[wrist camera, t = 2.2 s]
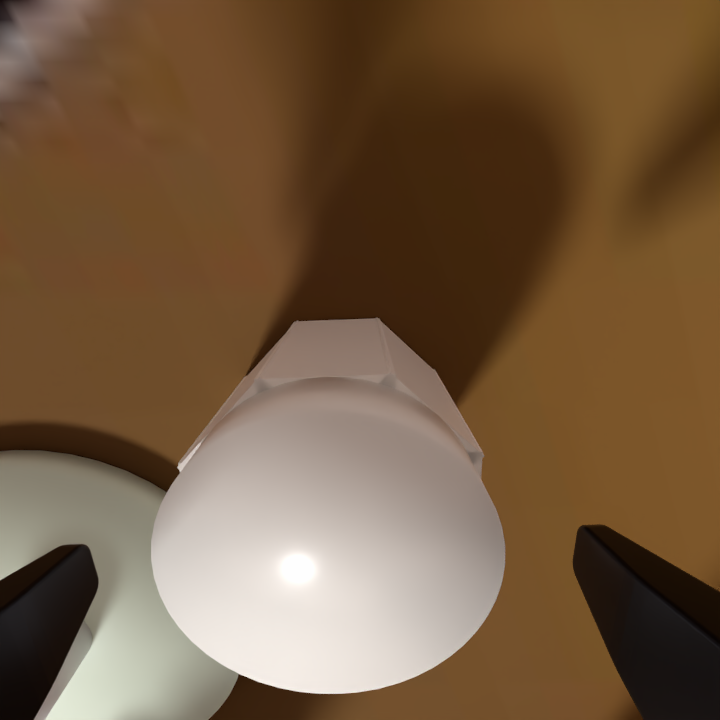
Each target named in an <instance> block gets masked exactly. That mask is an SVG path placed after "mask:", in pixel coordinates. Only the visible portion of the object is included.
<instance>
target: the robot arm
mask: <svg viewBox="0 0 720 720" xmlns="http://www.w3.org/2000/svg"><path fill="white" fill-rule="evenodd" d="M573 569H574V573H575V576H576V578H577V580H578V583H579V585H580V587H581V590H582V592H583V594H584V597H585V599H586V601H587V604H588V606H589V608H590V610H591V613H592V615H593V617H594V620H595V622H596V624H597V627H598V629H599V631H600V634H601V636H602V638H603V640H604V643H605V645H606V647H607V650H608V652H609V654H610V656H611V658H612V661H613V663H614V665H615V667H616V669H617V671H618V673H619V675H620V677H621V679H622V681H623V683H624V685H625V686H626V688H627V690H628V692H629V694H630V696H631V697H632V699H633V701H634V703H635V705H636V707H637V709H638V710H639V712H640V714H641V716H642V718H643V720H720V592H719V591H717V590H716V589H714V588H712V587H711V586H709V585H707V584H705V583H704V582H702V581H700V580H698V579H697V578H695V577H693V576H692V575H690V574H688V573H686V572H685V571H683V570H681V569H680V568H678V567H676V566H674V565H673V564H671V563H669V562H667V561H666V560H664V559H662V558H661V557H659V556H657V555H655V554H654V553H652V552H650V551H649V550H647V549H645V548H643V547H642V546H640V545H638V544H636V543H635V542H633V541H631V540H630V539H628V538H626V537H624V536H623V535H621V534H619V533H617V532H616V531H614V530H612V529H611V528H609V527H607V526H605V525H600V524H598V525H582V526H580V527H579V529H578V531H577V536H576V542H575V549H574V555H573ZM98 584H99V578H98V574H97V571H96V568H95V564H94V561H93V558H92V554H91V551H90V548H89V547H88V546H87V545H85V544H66V545H61V546H59V547H57V548H55V549H53V550H52V551H50V552H48V553H46V554H45V555H43V556H41V557H39V558H38V559H36V560H34V561H33V562H31V563H29V564H27V565H26V566H24V567H22V568H20V569H19V570H17V571H15V572H13V573H12V574H10V575H8V576H6V577H5V578H3V579H1V580H0V720H34V719H35V717H36V715H37V713H38V712H39V710H40V708H41V706H42V705H43V703H44V701H45V699H46V697H47V695H48V694H49V692H50V690H51V688H52V686H53V684H54V682H55V680H56V678H57V676H58V674H59V672H60V670H61V668H62V666H63V663H64V661H65V659H66V657H67V655H68V653H69V651H70V649H71V646H72V644H73V642H74V640H75V638H76V636H77V634H78V631H79V629H80V627H81V625H82V623H83V621H84V619H85V617H86V614H87V612H88V610H89V608H90V606H91V604H92V602H93V599H94V597H95V595H96V593H97V589H98Z"/></svg>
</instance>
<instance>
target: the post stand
mask: <svg viewBox="0 0 720 720" xmlns="http://www.w3.org/2000/svg"><path fill="white" fill-rule="evenodd" d="M166 493H167V492H165V491H164V490H162V489H161V488H159V487H157V486H156V485H154V484H152V483H151V482H149V481H147V480H144V479H142V478H140V477H138V476H136V475H134V474H132V473H130V472H128V471H126V470H123V469H120V468H117V467H114V466H111V465H109V464H106V463H103V462H100V461H97V460H93V459H89V458H84V457H80V456H76V455H72V454H65V453H58V452H50V451H42V450H9V451H0V580H1V579H3V578H5V577H6V576H8V575H10V574H12V573H13V572H15V571H17V570H19V569H20V568H22V567H24V566H26V565H27V564H29V563H31V562H33V561H34V560H36V559H38V558H39V557H41V556H43V555H45V554H46V553H48V552H50V551H52V550H53V549H55V548H57V547H59V546H61V545H66V544H85V545H87V546H88V547H89V548H90V551H91V554H92V558H93V561H94V564H95V568H96V571H97V574H98V578H99V584H98V589H97V593H96V595H95V597H94V599H93V602H92V604H91V606H90V608H89V610H88V612H87V614H86V617H85V619H84V621H83V623H82V625H81V627H80V629H79V631H78V634H77V636H76V638H75V640H74V642H73V644H72V646H71V649H70V651H69V653H68V655H67V657H66V659H65V661H64V663H63V666H62V668H61V670H60V672H59V674H58V676H57V678H56V680H55V682H54V684H53V686H52V688H51V690H50V692H49V694H48V695H47V697H46V699H45V701H44V703H43V705H42V706H41V708H40V710H39V712H38V713H37V715H36V717H35V719H34V720H208V719H209V718H210V717H211V716H212V715H213V714H214V713H215V712H216V711H217V710H218V709H219V708H220V707H221V706H222V704H223V703H224V702H225V700H226V699H227V698H228V696H229V695H230V693H231V691H232V689H233V687H234V685H235V683H236V681H237V678H238V675H239V674H238V673H236V672H235V671H233V670H231V669H229V668H227V667H225V666H223V665H222V664H220V663H219V662H217V661H216V660H214V659H213V658H211V657H210V656H208V655H207V654H206V653H204V652H203V651H202V650H201V649H200V648H199V647H197V646H196V645H195V644H194V643H193V642H192V641H191V640H190V639H189V638H188V637H187V636H186V635H185V634H184V633H183V631H182V630H181V629H180V628H179V627H178V625H177V624H176V623H175V621H174V620H173V618H172V617H171V615H170V614H169V613H168V611H167V609H166V607H165V605H164V603H163V601H162V599H161V597H160V595H159V592H158V588H157V585H156V582H155V579H154V575H153V569H152V562H151V539H152V533H153V527H154V522H155V519H156V516H157V513H158V510H159V508H160V505H161V502H162V501H163V499H164V497H165V495H166Z"/></svg>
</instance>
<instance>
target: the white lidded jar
mask: <svg viewBox="0 0 720 720" xmlns="http://www.w3.org/2000/svg"><path fill="white" fill-rule="evenodd" d="M483 457H484V455H483V452H482V450H481V448H480V447H479V445H478V443H477V441H476V440H475V438H474V436H473V434H472V433H471V431H470V429H469V428H468V426H467V424H466V422H465V421H464V419H463V417H462V415H461V414H460V412H459V410H458V409H457V407H456V405H455V403H454V402H453V400H452V398H451V396H450V395H449V393H448V391H447V390H446V388H445V386H444V384H443V383H442V381H441V379H440V377H439V376H438V374H437V372H436V371H435V369H432V368H431V367H430V366H429V365H428V364H427V363H426V362H425V361H423V360H422V359H421V358H420V357H419V356H418V355H417V354H416V353H415V352H414V351H413V350H412V349H411V348H409V347H408V346H407V345H406V344H405V343H404V342H403V341H402V340H401V339H400V338H399V337H398V336H396V335H395V334H394V333H393V332H392V331H391V330H390V329H389V328H388V327H387V326H386V325H385V324H384V323H382V322H381V321H380V318H377V317H376V318H372V319H346V320H319V321H298V320H297V321H294V322H293V324H292V325H291V327H290V328H289V330H288V331H287V332H286V333H285V334H284V335H283V336H282V338H281V339H280V340H279V341H278V342H277V343H276V344H275V345H274V347H273V348H272V349H271V350H270V351H269V352H268V353H267V354H266V355H265V357H264V358H263V359H262V360H261V361H260V362H259V363H258V364H257V365H256V367H255V368H254V369H253V370H252V371H251V372H250V373H249V374H248V376H245V377H244V378H243V380H242V381H241V382H240V383H239V385H238V386H237V387H236V389H235V390H234V391H233V393H232V394H231V395H230V396H229V398H228V399H227V400H226V402H225V403H224V404H223V406H222V407H221V408H220V409H219V411H218V412H217V413H216V415H215V416H214V417H213V419H212V420H211V421H210V422H209V424H208V425H207V426H206V428H205V429H204V430H203V432H202V433H201V434H200V435H199V437H198V438H197V439H196V441H195V442H194V443H193V445H192V446H191V447H190V448H189V450H188V451H187V452H186V454H185V455H184V456H183V458H182V459H181V460H180V461H179V463H178V467H177V468H178V469H179V471H180V474H179V475H178V476H177V478H176V479H175V481H174V482H173V483H172V485H171V486H170V488H169V490H168V492H167V493H166V495H165V497H164V499H163V501H162V502H161V505H160V508H159V510H158V513H157V516H156V519H155V522H154V527H153V533H152V539H151V562H152V569H153V575H154V579H155V582H156V585H157V588H158V592H159V595H160V597H161V599H162V601H163V603H164V605H165V607H166V609H167V611H168V613H169V614H170V615H171V617H172V618H173V620H174V621H175V623H176V624H177V625H178V627H179V628H180V629H181V630H182V631H183V633H184V634H185V635H186V636H187V637H188V638H189V639H190V640H191V641H192V642H193V643H194V644H195V645H196V646H197V647H199V648H200V649H201V650H202V651H203V652H204V653H206V654H207V655H208V656H210V657H211V658H213V659H214V660H216V661H217V662H219V663H220V664H222V665H223V666H225V667H227V668H229V669H231V670H233V671H235V672H236V673H238V674H240V675H243V676H245V677H248V678H250V679H253V680H255V681H257V682H260V683H264V684H267V685H270V686H274V687H277V688H282V689H287V690H292V691H297V692H306V693H316V694H343V693H356V692H363V691H369V690H374V689H379V688H383V687H387V686H390V685H394V684H397V683H400V682H403V681H405V680H408V679H411V678H413V677H416V676H418V675H420V674H422V673H424V672H426V671H428V670H430V669H432V668H433V667H435V666H437V665H438V664H440V663H441V662H443V661H444V660H446V659H447V658H449V657H450V656H451V655H453V654H454V653H455V652H456V651H457V650H459V649H460V648H461V647H462V646H463V645H464V644H465V643H466V642H467V641H468V640H469V639H470V638H471V637H472V636H473V635H474V634H475V633H476V632H477V630H478V629H479V628H480V626H481V625H482V623H483V622H484V621H485V619H486V618H487V616H488V614H489V612H490V611H491V609H492V607H493V605H494V603H495V601H496V598H497V596H498V593H499V590H500V587H501V584H502V579H503V573H504V568H505V542H504V536H503V530H502V526H501V523H500V520H499V517H498V513H497V510H496V508H495V506H494V504H493V502H492V500H491V498H490V496H489V494H488V492H487V490H486V488H485V486H484V484H483V482H482V481H481V469H482V458H483Z"/></svg>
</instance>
